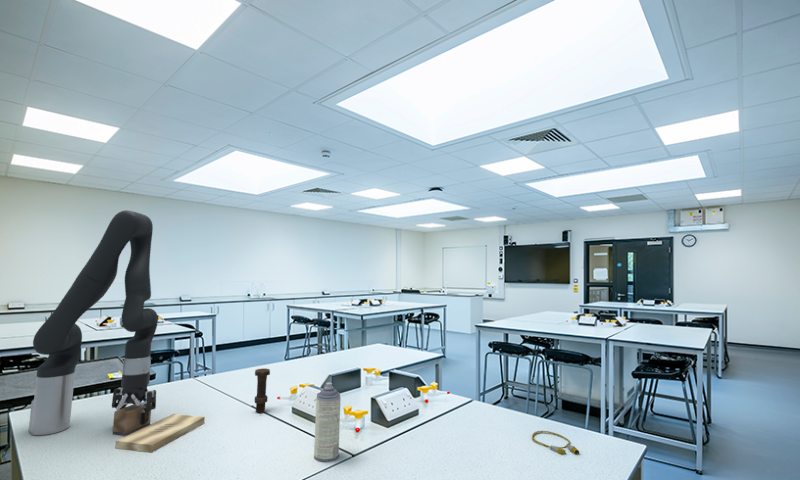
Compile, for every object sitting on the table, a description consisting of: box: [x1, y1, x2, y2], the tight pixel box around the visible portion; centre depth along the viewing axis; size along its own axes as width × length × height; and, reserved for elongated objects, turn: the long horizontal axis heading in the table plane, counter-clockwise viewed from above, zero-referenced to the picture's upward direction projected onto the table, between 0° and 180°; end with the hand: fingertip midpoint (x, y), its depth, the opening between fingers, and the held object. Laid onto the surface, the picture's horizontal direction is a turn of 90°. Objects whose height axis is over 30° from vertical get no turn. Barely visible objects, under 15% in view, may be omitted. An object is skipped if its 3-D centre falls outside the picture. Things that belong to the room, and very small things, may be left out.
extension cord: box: [531, 430, 580, 456], centre depth 120 cm, size 12×16×2 cm
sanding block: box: [112, 403, 152, 437], centre depth 124 cm, size 5×9×7 cm, turn 170°
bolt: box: [254, 367, 271, 414], centre depth 142 cm, size 6×5×15 cm
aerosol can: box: [313, 382, 342, 463], centre depth 110 cm, size 7×7×20 cm
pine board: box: [115, 413, 206, 453], centre depth 121 cm, size 12×22×2 cm, turn 170°
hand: (132, 422), depth 124 cm, fingers open, 8 cm apart
